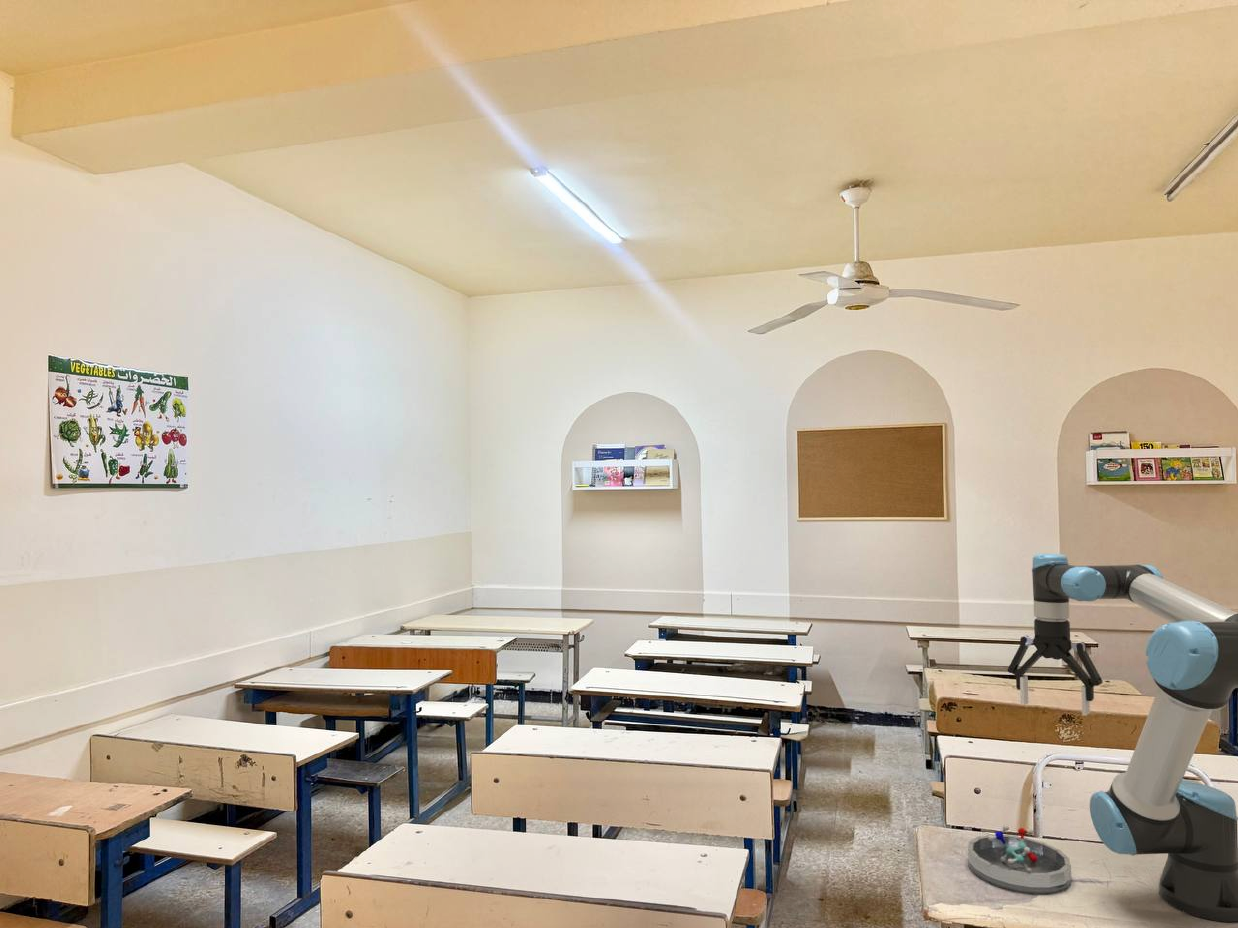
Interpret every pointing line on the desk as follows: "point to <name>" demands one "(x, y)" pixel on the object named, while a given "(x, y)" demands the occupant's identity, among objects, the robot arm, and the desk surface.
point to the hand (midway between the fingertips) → (1054, 709)
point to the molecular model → (1011, 850)
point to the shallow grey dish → (1020, 866)
